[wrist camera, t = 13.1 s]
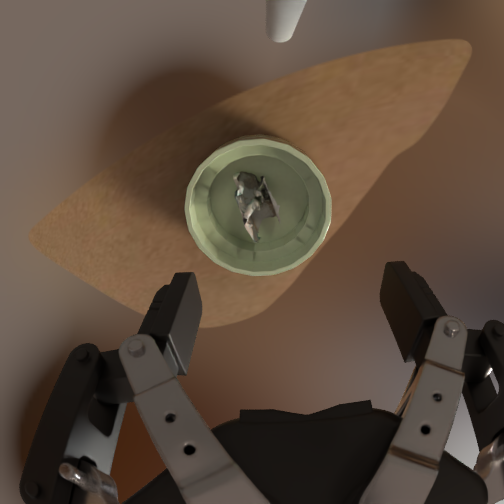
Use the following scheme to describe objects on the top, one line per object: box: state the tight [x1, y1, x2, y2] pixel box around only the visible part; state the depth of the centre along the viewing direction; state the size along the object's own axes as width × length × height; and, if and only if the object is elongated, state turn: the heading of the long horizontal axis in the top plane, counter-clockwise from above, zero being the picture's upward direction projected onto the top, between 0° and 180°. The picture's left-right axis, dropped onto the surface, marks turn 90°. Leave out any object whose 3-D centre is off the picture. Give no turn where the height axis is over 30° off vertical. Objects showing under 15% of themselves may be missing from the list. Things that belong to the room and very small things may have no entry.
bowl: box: [184, 134, 331, 276], centre depth 31 cm, size 15×15×5 cm
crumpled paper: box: [233, 171, 281, 243], centre depth 30 cm, size 4×8×7 cm, turn 21°
